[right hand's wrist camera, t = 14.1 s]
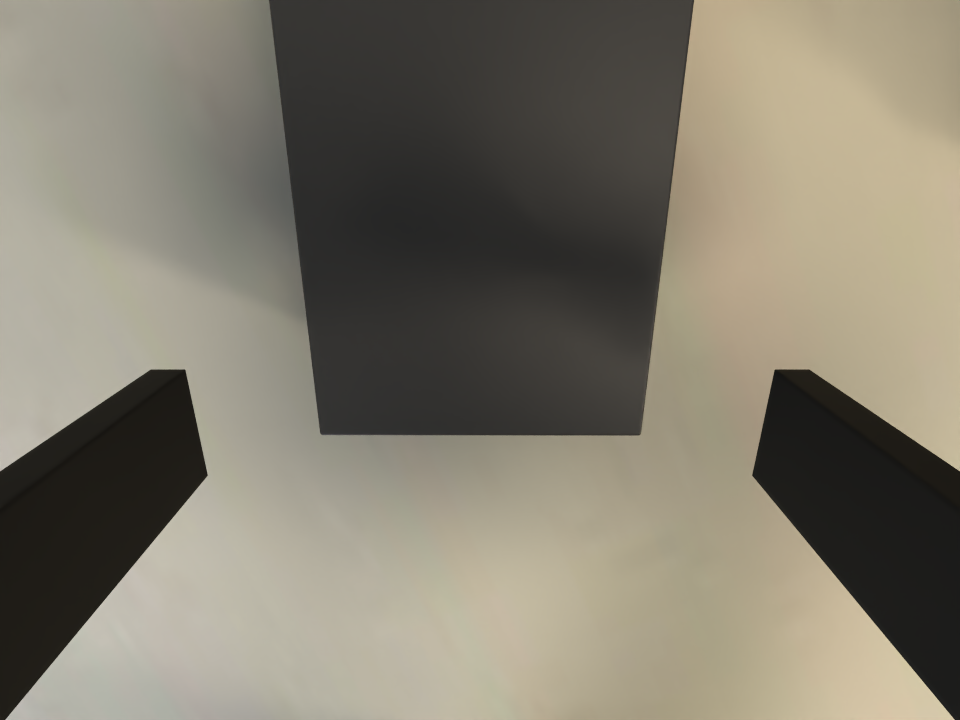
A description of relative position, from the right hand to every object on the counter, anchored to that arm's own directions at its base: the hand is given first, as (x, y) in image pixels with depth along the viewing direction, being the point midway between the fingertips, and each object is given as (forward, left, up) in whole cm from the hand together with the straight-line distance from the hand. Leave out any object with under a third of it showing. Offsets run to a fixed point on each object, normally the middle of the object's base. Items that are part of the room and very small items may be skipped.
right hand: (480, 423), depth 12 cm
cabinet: (+3, -6, -14) cm, 15 cm away
